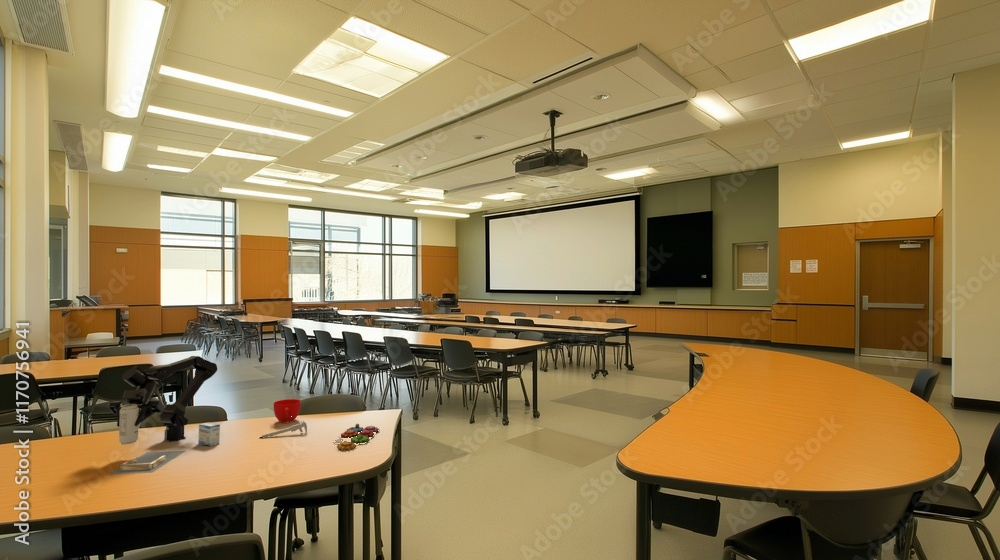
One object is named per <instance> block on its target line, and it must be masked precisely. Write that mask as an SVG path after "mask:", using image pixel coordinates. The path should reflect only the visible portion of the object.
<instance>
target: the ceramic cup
mask: <svg viewBox="0 0 1000 560" xmlns="http://www.w3.org/2000/svg"><path fill="white" fill-rule="evenodd" d="M301 403H302V401H301V400H300V399H297V398H291V399H289V398H288V399H287V398H285V399H280V400H275V401H274V402H273V412H274V413H273V414H274V416H275V418H276V419H277V420H278V422H280V423H281V422H288V423H292V422H294V421H295V420H296V418H298V416H299V414H300V410H301ZM291 416H292V417H291Z"/></svg>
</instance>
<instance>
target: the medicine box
mask: <svg viewBox="0 0 1000 560" xmlns="http://www.w3.org/2000/svg"><path fill="white" fill-rule="evenodd" d="M220 435H221V424H219V423H213V422H204V423H201V424H198V445H200V444H202V445H201V446H206V445H208V447H212V445H213V446H216V445H219V444H220V441H221V440H220V439H221V438H220V437H221V436H220ZM215 444H216V445H215Z"/></svg>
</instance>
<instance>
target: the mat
mask: <svg viewBox="0 0 1000 560" xmlns="http://www.w3.org/2000/svg"><path fill="white" fill-rule="evenodd" d="M186 451H187V450H170V451H169V450H168V451H165V450H163V451H147V452H145V453H143V454H141V455H139V456H137V457H138V462H137V463H135V464H138V463H152V462H153V461H155V460H156V459H158V458H160V457H161V456H164V455H166V461H164V462H162V463H161V464H159V465H158V466H156V467H155V468H153V469H143V470H123V471H120V467H118V468H117V469H114V470H113V471H111V472H109V473H108V474H107V475H109V476H110V475H125V474H126V475H127V474H146V473H151V474H152V473H154V472H156V471H157V470H159V469H161V468H162V467H163V466H164V465H166V464H168V463H169V462H171V461H172V460H174V459H176V458H177V457H179V456H180V455H181V454H184V453H185V452H186Z"/></svg>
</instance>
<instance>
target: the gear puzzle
mask: <svg viewBox="0 0 1000 560" xmlns="http://www.w3.org/2000/svg"><path fill="white" fill-rule="evenodd" d="M378 430H379V431H380V428H378V427H377V426H376V427H375V426H374V425H367V426H366V427H362V426H360V424H359V423H355V426H351V427H349V428H347V429H346V430H345V431H344V432H342V433H340V435H341V438H348V437H349V438H351V437H353V438H351V442H347V441H344V442H342V441H343V439H341V438H340V437H339V438H338V439H334V440H335V441H336V442H335V443H340V444H339V445H338V444H337V445H336V448H337V450H342V451H344V450H348V451H349V450H350V449H351V450H352V449H355V448H356V447H357V445H355V444H354V443H356V444H358V443H365V442H369V441H370V440H369V437H372V438H373V437H374V436H375V435H374V433H373V432H377V431H378ZM361 431H362V432H361ZM379 431H378V432H379ZM358 432H360V433H359V434H358ZM378 432H377V433H378ZM373 435H374V436H373ZM356 436H357V437H356ZM341 440H342V441H341ZM368 440H369V441H368Z"/></svg>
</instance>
